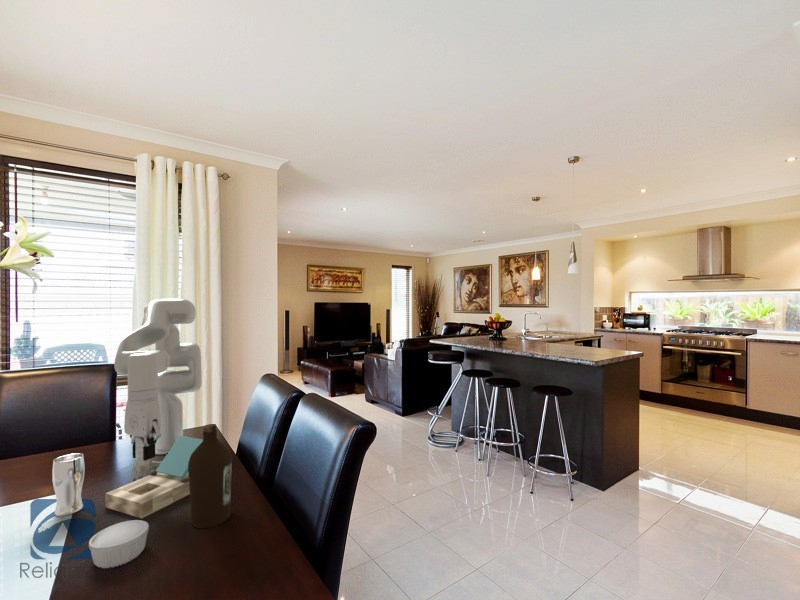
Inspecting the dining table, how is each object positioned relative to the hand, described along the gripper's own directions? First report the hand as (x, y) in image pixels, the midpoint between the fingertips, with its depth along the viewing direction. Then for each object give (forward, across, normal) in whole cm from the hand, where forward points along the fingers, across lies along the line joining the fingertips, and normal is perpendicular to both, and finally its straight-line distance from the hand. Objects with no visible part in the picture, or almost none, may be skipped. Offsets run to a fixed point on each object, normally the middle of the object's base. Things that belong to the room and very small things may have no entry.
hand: (144, 457), depth 113 cm
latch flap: (+4, 0, +12) cm, 13 cm away
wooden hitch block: (+13, 0, +5) cm, 14 cm away
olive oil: (+14, +26, +1) cm, 29 cm away
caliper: (+14, -17, +18) cm, 29 cm away
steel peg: (+3, 0, 0) cm, 3 cm away
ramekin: (+14, +19, -18) cm, 29 cm away
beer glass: (+14, -16, -11) cm, 24 cm away
